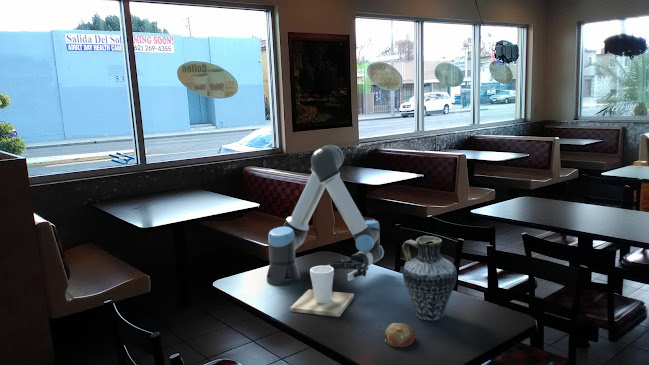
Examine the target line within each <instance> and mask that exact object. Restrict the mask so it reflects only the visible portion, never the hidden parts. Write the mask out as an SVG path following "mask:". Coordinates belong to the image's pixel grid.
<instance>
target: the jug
mask: <svg viewBox="0 0 649 365" xmlns="http://www.w3.org/2000/svg"><path fill="white" fill-rule="evenodd" d="M442 242H443V240H442V239H441V238H439V237H438V236H434V235H433V236H429V235H423V236H419V237H417V238H416V239H415V240H413V239H409V240H406V241H404V242H403V244H402V248H401V250H402V252H403V254H404V258H405V262H404V266H403V268H402V277H403V281H404V285H405V287H406V289H407V291H408V294H409V297H410V299H411V302H412V306H413V308H414V312H415V313H414V314H415V315H416V317H418V318H419V319H421V320H425V321H436V320H440V319H441V318H443V317H444V316H445V313H446V309H447V304H448V302H449V300H450V298H451V295H452V292H453V291H454V288H455V286H456V283H457V279H458V271H457V267H456V266H455V265H454V264H453V262H451V261H450V260H448V259H446V258H444V257H443V256H442V255H441V248H442V247H441V246H442ZM410 246H413V247H414V248H416V249H417V250H418V252H417V256H415V257H413V258H412V256H411V252H410Z"/></svg>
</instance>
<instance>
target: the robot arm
mask: <svg viewBox="0 0 649 365" xmlns="http://www.w3.org/2000/svg"><path fill="white" fill-rule="evenodd" d="M344 158H345V157H344V152H343V151H342V149H341V148H340V147H338V146H336V145H333V144H326V145H324V146H323V147H320V148H318V149H316V150H315V151H314V152H313V153H312V155H311V158H310V164H311V166H310V171H311V174H310V175H309V178H308V180H307V183H306V184H305V186H304V189H303V190H302V193H301V194H300V197H299V199H298V201H297V203H296V205H295V207H294V210H292V211H293V212H292V213H291V215H290V216H287V218H286V219H285V221H284V223H283V226H277V227H276V228H275V227H273V229H271V230H269V232H268V237H267V238H268V239H267V241H268V253H269V254H268V255H269V266H268V270H267V273H266V282H267V283H268V284H270V285H274V286H288V285H293V284H295V283H297V282H299V281H300V280H301V274H300V270H299V268H298V266H297V264H296V250H298V248H299V247H300V246H302V245H303V244H304V243H305V241H306V239H307V234H308V232H309V229H310V226H309V223H310V222H309V221H310V220H311V218H312V216H313V214H314V211H315V210H316V208H317V206H318V203H319V202H320V199H321V198H322V196H323V194H324V191H325V189H326V190H327V192H328V194H329V196H330V197H331V199H332V201H333V203H334V204H335V207H336V208H337V210H338V212H339V213H340V215H341V217H342V219H343V221H344V222H345V224H346V225H347V227H348V229H349V231H350V233H351V235H352V236H353V238H354V241H355V247H356V249H357V250H358V252H356V253H354V254H352V255H351V256H350V258H349V259H348V260H345V258H339V259H337V260H332V261H328V262H324V266H331V267H333V269H334V270H339V269H343V270H353V271H351V272H349V273H347V281H348V282H350V281H352V280H354V279H355V278H358V277H361V276H362V277H366V276H367V271H369V266H371V265H373V264H375V263H377V262H379V261H380V260H381V259H382V258H383V257H384V254H385V250H384V248H383V246H382V245H381V244H380V243H381V242H380V238H381V237H380V229H381V228H380V223H379V221H378V220H371V219H370V220H365V219H364V217H363V216H362V213H361V211H360V210H359V209H358V207H357V205H356V203H355V202H354V200H353V198H352V196H351V194H350V192H349V190H348V189H347V187H346V185H345V183H344V181H343V180H342V179H341V176H340V174H341V172H340V170H339V168H341V167H342V165H343V163H344Z"/></svg>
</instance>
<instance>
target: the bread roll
mask: <svg viewBox="0 0 649 365" xmlns="http://www.w3.org/2000/svg"><path fill="white" fill-rule="evenodd" d="M415 339H416V335H415V330H414V329H413V328H411V326H410V325H408V324H406V323H401V322H395V323H394V322H393V323H390V324H389V325H388V327H387V328H386V329H385V333H384V342H385V343H387V344H388V345H390V346H392V347H394V348H406V347H408V346H411V345H412V344H413V343H414V342H415Z"/></svg>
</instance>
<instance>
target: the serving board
mask: <svg viewBox="0 0 649 365" xmlns="http://www.w3.org/2000/svg"><path fill="white" fill-rule="evenodd" d="M307 289H308V288H307ZM354 298H355V293H351V292H339V291H332V294H331V301H330V302H328V303H317V302H315V297H314V291H313V289H310V288H309V289H308V290H307V291H305V292H304V293H303V295H302V296H300V297H299V298H298V299H297V300H296V301H295V302H294V303H293V304H292V306H290V312H294V313H304V314H311V315H312V314H313V315H319V316H328V317H338V318H340V317H341V315H342V314H343V312H344V311H345V310H346V309H347V307H348V306H349V304H351V302H352V300H353V299H354Z"/></svg>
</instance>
